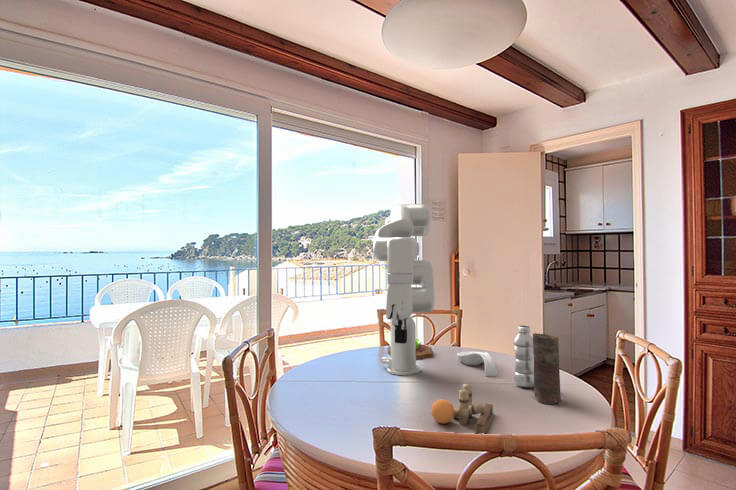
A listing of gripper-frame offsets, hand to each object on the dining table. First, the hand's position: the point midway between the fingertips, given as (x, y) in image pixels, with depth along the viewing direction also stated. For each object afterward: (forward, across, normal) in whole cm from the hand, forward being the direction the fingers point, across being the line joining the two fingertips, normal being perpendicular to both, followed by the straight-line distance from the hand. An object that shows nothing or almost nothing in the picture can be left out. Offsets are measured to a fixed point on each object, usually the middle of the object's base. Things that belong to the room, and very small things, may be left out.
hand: (400, 342), depth 116 cm
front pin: (+18, 0, +15) cm, 23 cm away
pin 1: (+19, -2, +18) cm, 27 cm away
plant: (+20, -59, -18) cm, 65 cm away
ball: (+16, +4, +13) cm, 21 cm away
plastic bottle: (+19, -34, +31) cm, 50 cm away
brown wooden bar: (+19, 0, +24) cm, 30 cm away
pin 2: (+19, +2, +18) cm, 27 cm away
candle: (+19, -24, +38) cm, 49 cm away
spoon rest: (+20, -50, +13) cm, 55 cm away
